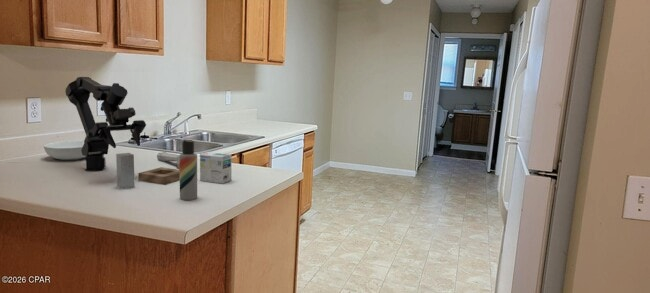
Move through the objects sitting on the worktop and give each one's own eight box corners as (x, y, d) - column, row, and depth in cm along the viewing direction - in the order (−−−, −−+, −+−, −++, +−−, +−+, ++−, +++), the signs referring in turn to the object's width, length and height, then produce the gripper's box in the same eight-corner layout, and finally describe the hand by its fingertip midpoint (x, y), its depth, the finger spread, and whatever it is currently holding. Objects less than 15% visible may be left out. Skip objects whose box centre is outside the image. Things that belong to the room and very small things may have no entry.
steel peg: (117, 186, 160) (116, 153, 158) (130, 184, 163) (129, 152, 161) (121, 188, 156) (120, 155, 155) (134, 187, 160) (133, 154, 158)
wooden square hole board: (138, 180, 169) (138, 173, 168) (161, 174, 180) (161, 167, 180) (164, 184, 165) (164, 176, 164) (186, 178, 176) (186, 170, 176)
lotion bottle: (182, 195, 151) (181, 138, 148) (198, 196, 152) (198, 138, 149) (177, 200, 146) (177, 140, 143) (195, 200, 146) (195, 141, 143)
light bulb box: (232, 180, 176) (232, 154, 174) (222, 184, 170) (223, 156, 168) (209, 177, 179) (209, 151, 177) (199, 180, 173) (199, 153, 171)
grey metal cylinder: (165, 151, 211) (190, 152, 193) (166, 165, 211) (191, 167, 193) (155, 152, 207) (179, 153, 189) (156, 166, 208) (180, 168, 190)
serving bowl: (49, 155, 209) (48, 140, 208) (98, 153, 217) (98, 140, 216) (39, 163, 190) (38, 148, 189) (94, 162, 198) (93, 147, 197)
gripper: (94, 100, 158) (109, 136, 153) (143, 99, 172) (158, 132, 168) (85, 119, 164) (99, 153, 160) (133, 116, 178) (147, 148, 174)
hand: (127, 146), depth 165 cm, fingers open, 9 cm apart
